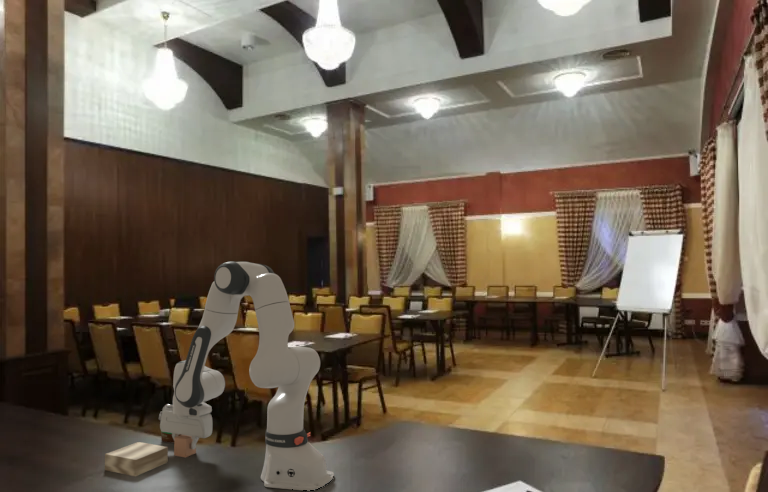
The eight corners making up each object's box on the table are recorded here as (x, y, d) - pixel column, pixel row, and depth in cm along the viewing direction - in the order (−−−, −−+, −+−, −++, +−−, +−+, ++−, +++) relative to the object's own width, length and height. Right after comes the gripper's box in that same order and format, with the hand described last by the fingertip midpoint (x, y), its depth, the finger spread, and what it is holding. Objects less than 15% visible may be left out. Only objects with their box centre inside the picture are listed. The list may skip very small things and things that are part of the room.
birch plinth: (167, 462, 176) (167, 447, 176) (135, 476, 164) (135, 459, 164) (137, 456, 180) (138, 441, 181) (104, 470, 168) (105, 453, 169)
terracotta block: (195, 452, 185) (196, 435, 185) (185, 457, 180) (185, 439, 181) (184, 450, 187) (185, 433, 187) (174, 455, 182) (174, 437, 182)
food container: (150, 440, 198) (151, 413, 199) (164, 435, 204) (164, 409, 204) (173, 445, 192) (174, 417, 193) (187, 440, 198) (188, 413, 198)
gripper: (156, 405, 185) (155, 446, 185) (203, 412, 178) (202, 454, 177) (169, 401, 191) (168, 440, 191) (215, 407, 183) (214, 448, 183)
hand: (185, 447), depth 184 cm, fingers closed on terracotta block, 5 cm apart
